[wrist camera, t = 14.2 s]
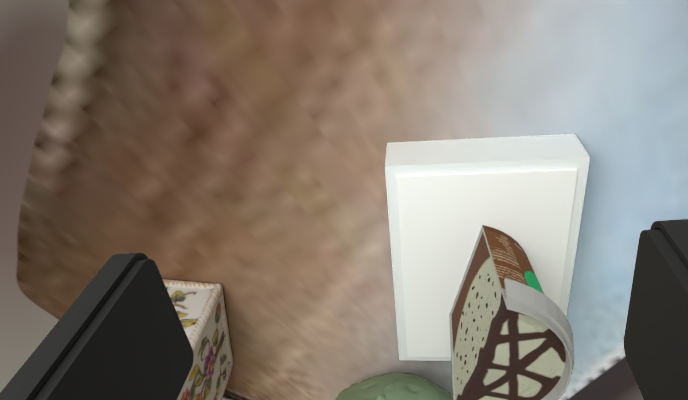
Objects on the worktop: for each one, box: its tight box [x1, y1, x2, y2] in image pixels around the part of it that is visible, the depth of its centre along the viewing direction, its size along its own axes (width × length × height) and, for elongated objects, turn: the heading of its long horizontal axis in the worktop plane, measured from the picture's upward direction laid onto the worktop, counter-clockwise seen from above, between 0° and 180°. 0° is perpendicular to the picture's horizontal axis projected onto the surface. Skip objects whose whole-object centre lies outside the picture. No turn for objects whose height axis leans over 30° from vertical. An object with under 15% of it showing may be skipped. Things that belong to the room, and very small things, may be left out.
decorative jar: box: [162, 279, 233, 400], centre depth 47 cm, size 12×12×18 cm
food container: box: [449, 225, 574, 400], centre depth 37 cm, size 12×6×10 cm, turn 171°
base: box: [385, 134, 590, 361], centre depth 43 cm, size 14×20×4 cm
